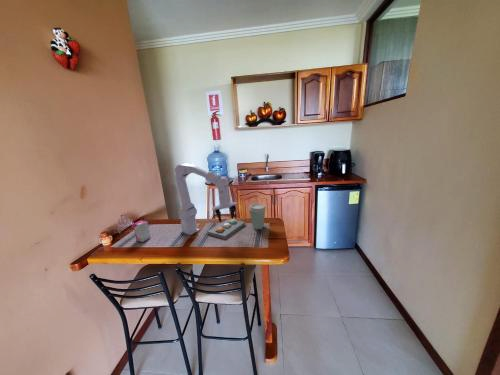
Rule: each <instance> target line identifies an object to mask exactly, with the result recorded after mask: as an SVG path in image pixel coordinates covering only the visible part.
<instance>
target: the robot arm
mask: <svg viewBox="0 0 500 375" xmlns="http://www.w3.org/2000/svg"><path fill="white" fill-rule="evenodd" d="M174 173H175V175H174V178H175V181H176V185H177V186H176V187H177V190H178V194H179V197H180V198H179V199H180V202H181V207H180V208H179V213H180V214H179V216H180V218H181V220H180V226H181V231H180V232H181V233H183V234H187V235H189V236H190V235H193V234H195V233H197V232H199V231H201V229H200V228H198V227H197V219H196V215H197V213H198V211H197V208H196V207H195V204H194V203H193V202H191V196H190V193H189V188H188V185H187V184H188V183H187V180H186V179H187V177H188V176H189V175H190V174H196V175H198V176H201V177H203V178H204V180H205V181H206V182H208V183H210V184H213V185H215V187H216V188H217V192H218V199H219V200H218V203H219V204H218V205H215V206H213V207H212V209H211V210H212V211H213V212H214V213H215V215H216V216H217V218H218V222H219V223H222V215H221V214H222V211H221V210H223V209H229V212H230V219H234V217H235V213H236V210H237V206H238V203H237V202H236V201H235V202H230V192H229V184H230V179H229V177H227V176H225V175H223V176H222V175H221V174H217V173H215V172H214V171H212V170H211V171H206V170H205V169H202V168H200V167H198V166H197V165H195V164H194V163H192V162H185V163H182V164H181V163H180V164H177V165H176V167H174Z"/></svg>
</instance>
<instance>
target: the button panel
mask: <svg viewBox="0 0 500 375" xmlns="http://www.w3.org/2000/svg"><path fill="white" fill-rule="evenodd" d="M230 220H232V218H228V219H225V220H224V221H221V222H220V223H219V224H217V225H216V226H214V227H212V228H211V229H209V230H207V231H206V232H207V235H209V236H213V237H215V238H220V239H223V240H227V239H228V238H229V237H231V236H232V235H233V234H235V233H236V232H238V231H239V230H240V229H241V228H243V227H244V226H246V222H245V221H241V220H237V219H235V220H236V224H230ZM225 223H229V224H230V228H227V229H226V228H224V224H225ZM218 227H223V232H222V233H217V228H218Z"/></svg>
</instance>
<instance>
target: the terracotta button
mask: <svg viewBox="0 0 500 375" xmlns="http://www.w3.org/2000/svg"><path fill="white" fill-rule="evenodd" d="M222 232H223V227H218V228H217V233H222Z"/></svg>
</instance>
